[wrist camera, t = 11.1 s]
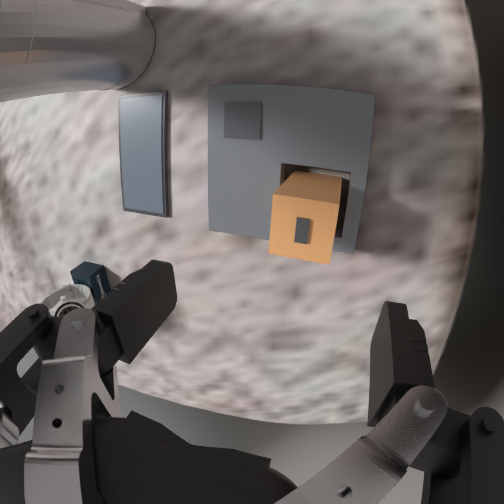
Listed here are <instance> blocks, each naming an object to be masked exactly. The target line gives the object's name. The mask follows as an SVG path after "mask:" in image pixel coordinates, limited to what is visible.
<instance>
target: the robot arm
mask: <svg viewBox="0 0 504 504" xmlns="http://www.w3.org/2000/svg"><path fill="white" fill-rule="evenodd" d="M154 45H155V32H154V27H153V25H152V23H151V21H150V20H149V19H148V17H147V16H146V7H145V6H142V5H139V4H136V3H133V2H130V1H127V0H0V102H5V101H10V100H15V99H21V98H27V97H33V96H40V95H47V94H55V93H64V92H75V91H89V90H109V89H120V88H123V87H126V86H128V85H129V84H131V83H133V82H134V81H135V80H136V79H137V78H138V77H139V76H140V75H141V74H142V72H143V71H144V70H145V68H146V67H147V65H148V63H149V61H150V59H151V56H152V54H153V50H154ZM176 302H177V292H176V285H175V279H174V272H173V266H172V264H171V263H168V262H163V261H158V260H151V261H150V262H149V263H148V264H146V265H145V266H144V267H143V268H142V269H140V270H137V271H135V272H133V273H131V274H129V275H128V276H127V277H126V278H125V279H123V280H122V281H121V283H119V284H118V285H117V286H116V287H114V289H112V290H111V291H110V292H109V293H108V294H107V295H106V296H105V297H103V298H102V299H101V300H100V301H99V302H98V303H97V304H96V305H95V306H94V307H93V308H91V309H89V308H77V309H74V310H72V311H70V312H68V313H67V314H66V315H65V316H64V317H55V316H51V314H50V312H49V309H48V307H47V306H46V305H44V304H34V305H31V306H29V307H28V308H26V309H25V310H24V311H23V312H22V313H20V314H19V315H18V316H17V317H16V318H15V319H14V320H13V321H12V322H11V323H10V324H9V325H8V326H7V327H6V328H5V329H4V330H3V331H2V332H0V504H378V503H379V502H380V501H381V500H382V499H383V498H384V497H385V496H386V495H387V494H388V493H389V492H390V491H391V490H392V489H393V487H395V485H396V484H397V483H398V482H399V481H400V480H401V479H402V477H403V476H404V475H405V473H406V472H407V470H406V469H407V468H408V467H412V468H415V469H418V470H421V471H424V482H423V491H422V500H421V504H504V421H503V418H502V417H501V415H500V414H499V413H498V412H497V411H496V410H494V409H492V408H489V407H481V408H478V409H477V410H476V411H474V413H473V414H472V415H471V416H470V415H467V414H464V413H461V412H458V411H455V410H453V409H450V408H448V407H447V404H446V401H445V398H444V397H443V395H442V394H441V393H440V392H439V391H437V390H436V389H435V388H434V382H433V375H432V369H431V363H430V357H429V354H428V347H427V344H426V337H425V332H424V330H423V328H422V327H421V325H420V324H419V323H418V321H417V320H412V319H409V317H408V311H407V306H406V304H402V303H395V302H389V301H385V302H384V305H383V307H382V310H381V313H380V316H379V319H378V322H377V325H376V328H375V331H374V334H373V337H372V342H371V349H370V390H369V409H368V423H367V426H370V427H374V428H373V429H372V430H371V431H370V432H369V433H368V434H367V435H366V436H364V437H363V436H362V437H360V438H359V439H358V440H357V441H355V442H354V443H353V444H352V445H351V446H350V447H349V448H347V449H346V450H345V451H344V452H343V453H342V454H341V455H339V456H338V457H337V458H336V459H335V460H333V461H332V462H331V463H330V464H328V465H327V466H326V467H325V468H324V469H322V470H321V471H320V472H318V473H317V474H316V475H314V476H313V477H312V478H310V479H309V480H308V481H307V482H305V483H304V484H302V485H301V486H299V487H297V486H296V485H295V484H294V483H293V482H292V481H291V480H290V479H288V478H287V477H286V476H285V475H283V474H281V473H280V472H278V471H276V470H274V469H272V468H270V461H271V459H270V458H265V457H261V456H257V455H253V454H250V453H246V452H242V451H238V450H235V449H227V448H215V447H205V446H196V445H192V444H189V443H188V442H186V441H185V440H183V439H181V438H180V437H179V436H177V435H176V434H174V433H173V432H172V431H170V430H169V429H168V428H166V427H165V426H164V425H162V424H161V423H158V422H156V421H154V420H151V419H149V418H147V417H144V416H142V415H140V414H138V413H136V412H134V411H131V412H130V414H129V415H128V416H127V418H123V417H122V414H121V411H120V407H119V398H118V397H119V396H118V380H117V367H116V365H115V364H116V362H117V361H118V360H121V361H123V362H125V363H128V364H130V363H131V362H132V361H133V360H134V358H135V357H136V356H137V354H138V353H139V352H140V351H141V349H142V348H143V347H144V346H145V344H146V343H147V342H148V341H149V339H150V338H151V337H152V336H153V334H154V333H155V332H156V331H157V329H158V328H159V327H160V326H161V324H162V323H163V322H164V321H165V320H166V318H167V317H168V316H169V315H170V313H171V312H172V311H173V310H174V308H175V305H176ZM32 347H33V348H34V350H35V352H36V353H37V355H38V357H39V358H38V359H37V361H36V362H35V363H34V364H33V365H32V366H31V367H30V369H29V370H28V371H27V372H26V373H25V374H24V375H23V377H22V378H20V377H19V376H18V374H17V364H18V363H19V361H20V360H21V359H22V358H23V357H24V356H25V355H26V353H28V351H29V350H30V349H31V348H32ZM33 417H34V426H33V438H32V440H31V441H27V442H23V443H22V442H21V441H20V440H19V436H20V435H21V433H22V432H23V430H24V429H25V428H26V426H27V425H28V424H29V422H30V421H31V419H32V418H33Z"/></svg>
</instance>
